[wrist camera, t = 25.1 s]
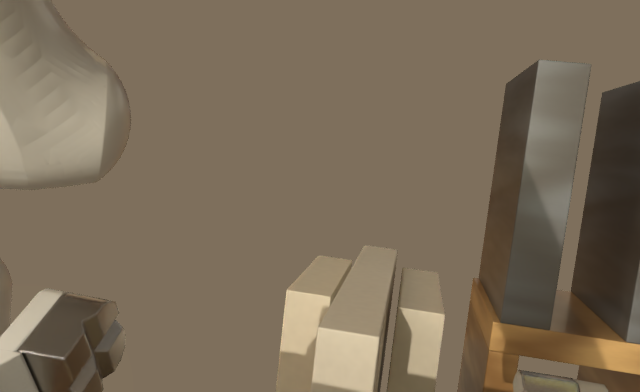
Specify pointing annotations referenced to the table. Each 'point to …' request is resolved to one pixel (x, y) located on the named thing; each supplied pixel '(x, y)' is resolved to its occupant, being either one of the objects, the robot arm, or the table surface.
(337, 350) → the white book
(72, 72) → the robot arm
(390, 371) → the cream teal blocky piece
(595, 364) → the book stand
